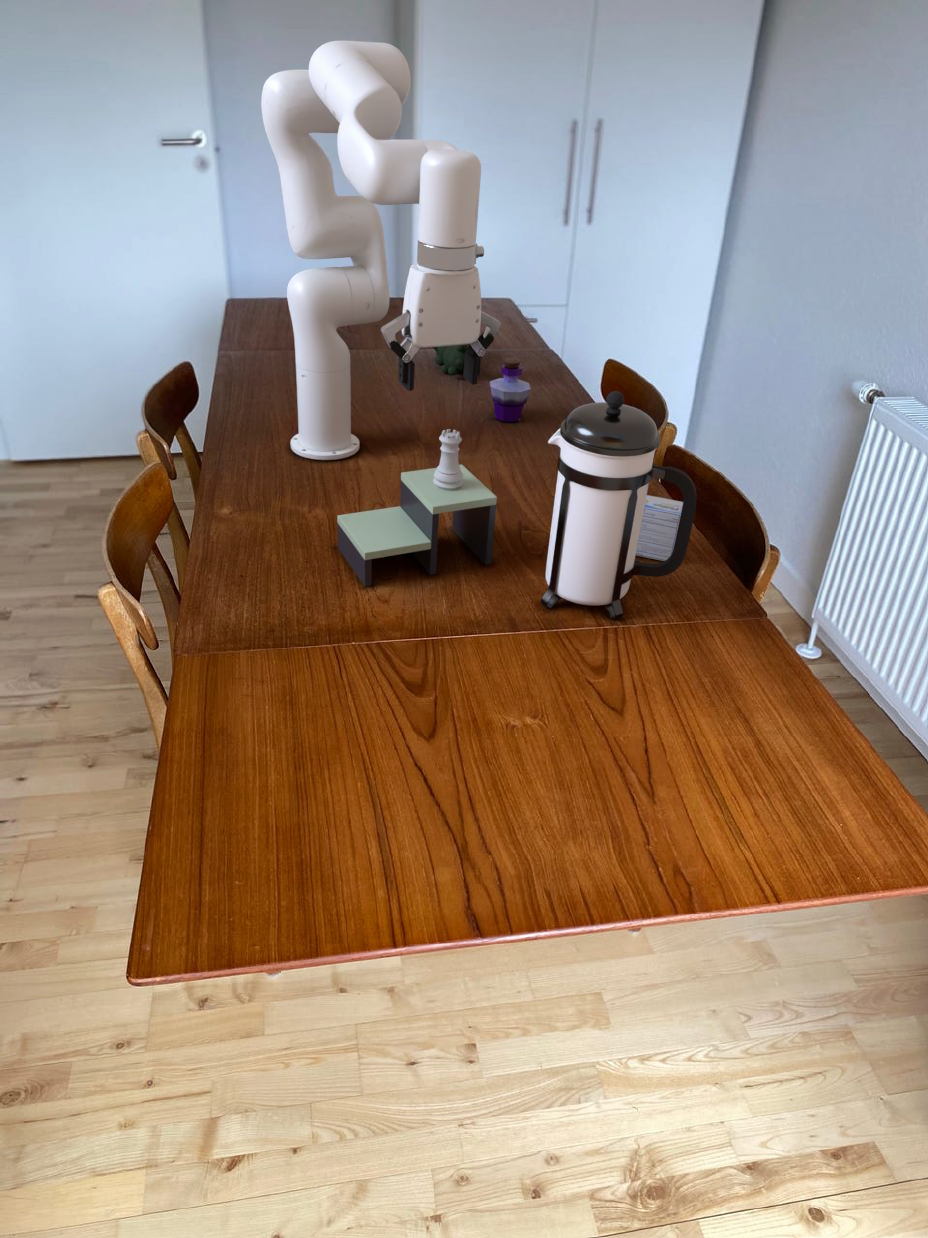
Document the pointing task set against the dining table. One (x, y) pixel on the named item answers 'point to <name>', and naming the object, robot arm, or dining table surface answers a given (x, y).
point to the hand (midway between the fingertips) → (439, 384)
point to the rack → (419, 523)
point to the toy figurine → (451, 358)
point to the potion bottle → (509, 392)
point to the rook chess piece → (449, 462)
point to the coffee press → (607, 505)
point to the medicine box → (658, 528)
